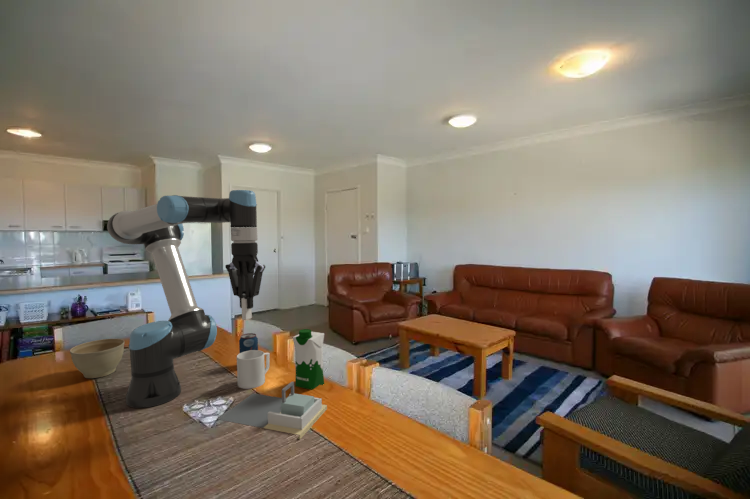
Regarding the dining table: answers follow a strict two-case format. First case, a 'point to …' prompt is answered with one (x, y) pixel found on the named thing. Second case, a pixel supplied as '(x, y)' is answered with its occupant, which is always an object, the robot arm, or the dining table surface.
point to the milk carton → (309, 359)
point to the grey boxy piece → (295, 402)
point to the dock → (273, 414)
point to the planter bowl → (97, 357)
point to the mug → (251, 368)
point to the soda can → (248, 342)
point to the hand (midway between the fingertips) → (247, 318)
